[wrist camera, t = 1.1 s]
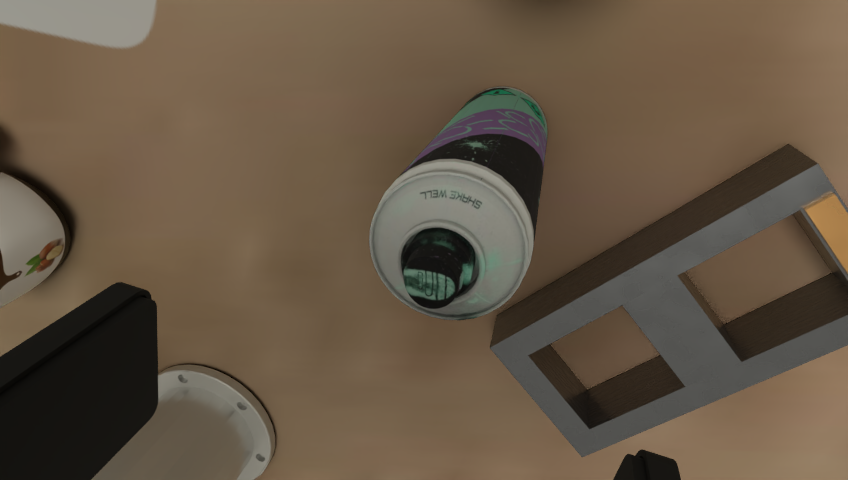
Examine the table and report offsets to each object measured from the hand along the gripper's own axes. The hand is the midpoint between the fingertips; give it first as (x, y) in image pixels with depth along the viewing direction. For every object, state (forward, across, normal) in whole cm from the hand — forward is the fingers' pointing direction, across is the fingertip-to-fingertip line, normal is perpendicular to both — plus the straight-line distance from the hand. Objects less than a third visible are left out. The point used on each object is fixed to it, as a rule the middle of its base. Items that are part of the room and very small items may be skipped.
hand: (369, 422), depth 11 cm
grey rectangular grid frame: (+26, -13, +8) cm, 30 cm away
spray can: (+26, 0, 0) cm, 26 cm away
